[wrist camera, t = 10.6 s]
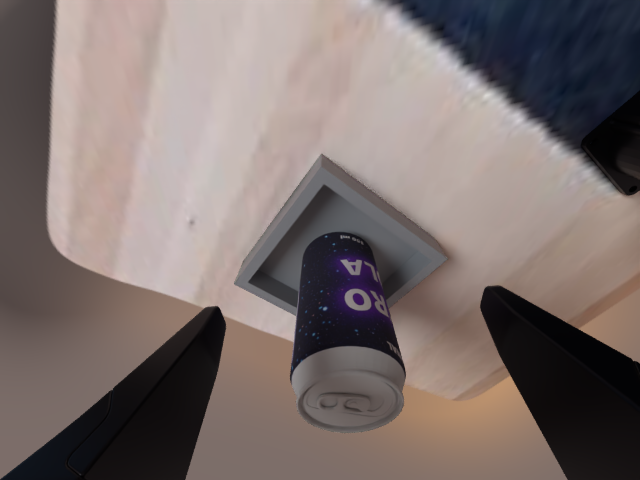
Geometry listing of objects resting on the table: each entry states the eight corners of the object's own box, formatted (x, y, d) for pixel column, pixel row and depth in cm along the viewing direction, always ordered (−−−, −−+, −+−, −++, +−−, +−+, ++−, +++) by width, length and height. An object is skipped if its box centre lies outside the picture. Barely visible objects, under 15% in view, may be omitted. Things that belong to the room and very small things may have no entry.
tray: (434, 237, 23) (448, 258, 21) (345, 317, 28) (348, 342, 25) (321, 153, 20) (321, 166, 17) (242, 261, 24) (233, 283, 22)
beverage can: (365, 285, 25) (395, 440, 14) (300, 279, 24) (285, 433, 14) (378, 229, 22) (429, 373, 11) (305, 222, 21) (289, 364, 11)
